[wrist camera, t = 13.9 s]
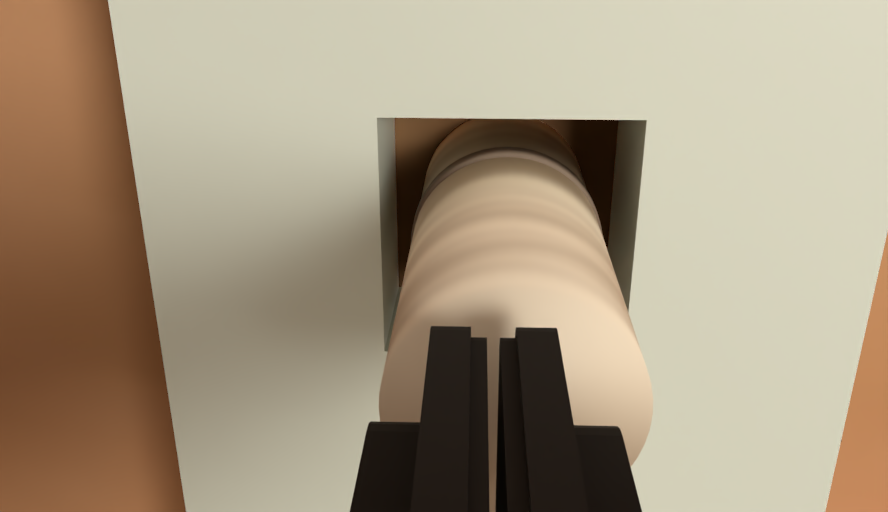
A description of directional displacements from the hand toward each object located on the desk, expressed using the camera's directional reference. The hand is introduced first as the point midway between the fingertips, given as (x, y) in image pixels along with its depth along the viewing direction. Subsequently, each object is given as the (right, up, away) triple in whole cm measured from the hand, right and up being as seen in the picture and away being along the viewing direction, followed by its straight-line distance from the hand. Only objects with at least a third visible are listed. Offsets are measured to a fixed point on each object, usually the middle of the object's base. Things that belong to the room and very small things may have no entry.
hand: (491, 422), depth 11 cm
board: (+1, +1, +11) cm, 11 cm away
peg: (+1, +4, +10) cm, 11 cm away
